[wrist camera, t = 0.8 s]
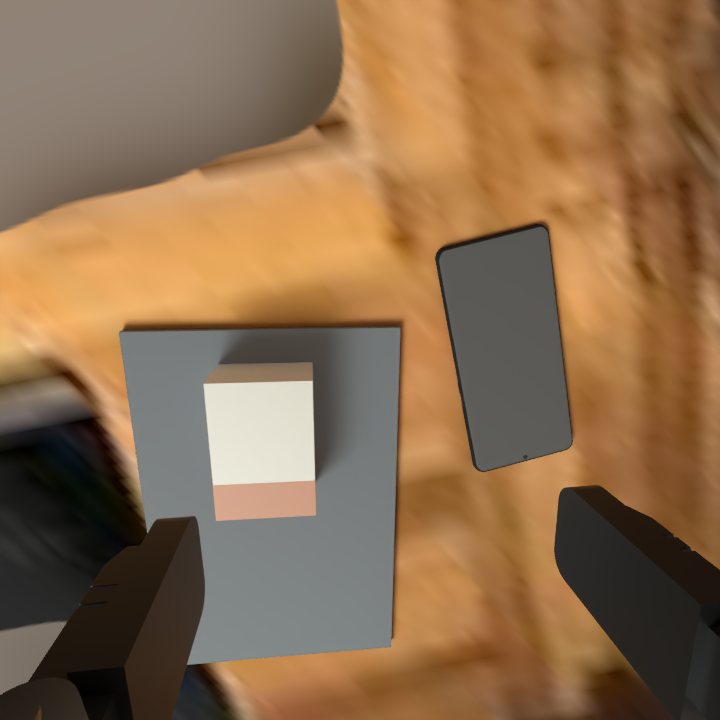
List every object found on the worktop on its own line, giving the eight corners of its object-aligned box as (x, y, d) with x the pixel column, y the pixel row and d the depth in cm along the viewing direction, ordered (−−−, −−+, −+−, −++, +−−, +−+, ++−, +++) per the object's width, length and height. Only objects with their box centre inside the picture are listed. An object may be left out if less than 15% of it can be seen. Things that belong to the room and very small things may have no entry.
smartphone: (548, 221, 26) (575, 449, 30) (541, 222, 27) (567, 443, 31) (434, 250, 26) (476, 475, 30) (430, 250, 27) (471, 469, 31)
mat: (122, 330, 26) (118, 332, 25) (398, 325, 27) (400, 327, 27) (168, 660, 32) (166, 666, 32) (390, 641, 34) (391, 647, 33)
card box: (217, 364, 26) (203, 383, 23) (312, 362, 27) (312, 381, 23) (227, 486, 28) (216, 520, 25) (315, 481, 29) (316, 515, 25)
